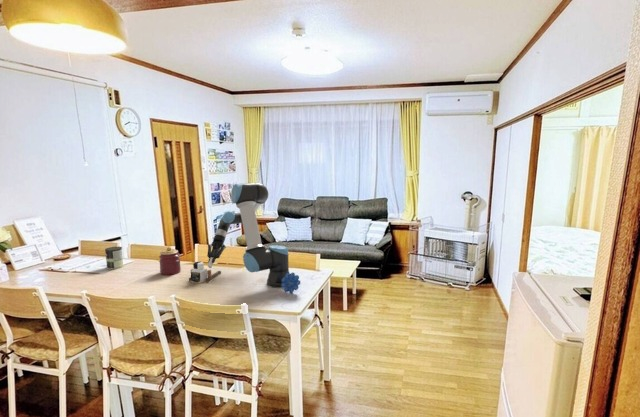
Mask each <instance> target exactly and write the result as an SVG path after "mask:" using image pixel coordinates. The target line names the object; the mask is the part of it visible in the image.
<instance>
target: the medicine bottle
mask: <svg viewBox="0 0 640 417" xmlns="http://www.w3.org/2000/svg"><path fill="white" fill-rule="evenodd" d="M192 265H193V268H192V269H194V270H192V271H191V270H190V277H191V281H190V282H191V283H195V284H202V283H204V282H206V279H207V278H208V274H207V271H208V268H205V267H204V265H205V264H204V262H202V261H196V262H194V263H193V264H192Z"/></svg>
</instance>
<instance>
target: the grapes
mask: <svg viewBox="0 0 640 417" xmlns="http://www.w3.org/2000/svg"><path fill="white" fill-rule="evenodd" d="M299 279H300V276H299V274H296V273H295V272H291V273H290V274H288V273H287V274H286V275H285V277H284V278H282V282H283V283H282V284H281V287H280V288H282V289H283V291H284V292H285V293H287V292H289V293H290V294H293V293H294V291H297V290H298V289H299V285H301V280H299Z"/></svg>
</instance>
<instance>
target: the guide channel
mask: <svg viewBox="0 0 640 417" xmlns="http://www.w3.org/2000/svg"><path fill="white" fill-rule="evenodd" d="M192 270H194V268H192V269H190V272H191V271H192ZM221 274H222V270H218V271H216V272H215V273H213V274H212V270H211V269H207V279H206V281H205V283H210V282H211V281H213V280H214V279H215V278H217V277H218V276H220V275H221ZM188 282H191V276H190V277H189V278H188Z"/></svg>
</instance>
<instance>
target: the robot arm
mask: <svg viewBox="0 0 640 417" xmlns="http://www.w3.org/2000/svg"><path fill="white" fill-rule="evenodd" d="M230 198H231V203H232V204H236V205H235V206H236V208H237V209H239V212H236V213H234V212H232V211H226V212H225V213H224V214H223V215H222V217H221V218H220V220H219V223H218V225H217V229H216V230H215V234H214V236H213V239H212V242H211V243H209V244H207V258H208V261H207V262H208V264H207V267H208V268H209V269H211V268H212V267H213V264H214V263H215V261H216V259H220V256H221V255H222V253H224V250H226V248H227V247H226V245H225V240H226V237H227V235H228V232H229V229H230V226H231V225H236V224H242V228H243V233H244V238H245V243H246V249H245V253H243V256H242V258H243V264H244V267H245V269H246V270H247V271H248V272H249V273H255V272H256V273H258V272H261V271H262V272H263V271H266V270H267V271H268V270H269V272H268V276H267V280H266V285H267V286H268V287H270V288H282V287H281V284H282V283H283V282H282V278H284V277H285V275H286V274H287V273H288V274H291V273H290V269H289V266H290V265H289V264H290V263H289V255H290V254H289V249H288V247H287V246H284V245H276V244H275V245H269V246H268V249H266V245H264V244H263V243H262V238H261V235H260V229H259V228H260V227H259V224H258V219H257V215H256V214H257V213H256V212H257V211H258V209H259V208H260V207H261V206H262V205H263V204H264V203H266V202H267V200H268V198H269V190H268V188H267V187H266V186H265V185H264V184H263V183H260V182H246V183H243V182H242V183H235V184H233V185H232V188H231V193H230Z"/></svg>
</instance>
